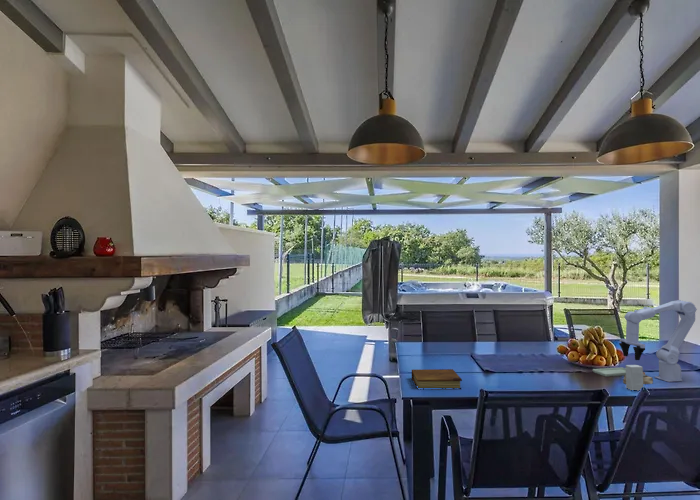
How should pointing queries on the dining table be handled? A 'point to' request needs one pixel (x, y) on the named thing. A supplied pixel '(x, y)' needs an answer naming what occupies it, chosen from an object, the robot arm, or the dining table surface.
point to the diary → (436, 378)
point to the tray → (611, 371)
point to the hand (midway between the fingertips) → (631, 358)
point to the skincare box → (634, 377)
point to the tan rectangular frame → (645, 380)
